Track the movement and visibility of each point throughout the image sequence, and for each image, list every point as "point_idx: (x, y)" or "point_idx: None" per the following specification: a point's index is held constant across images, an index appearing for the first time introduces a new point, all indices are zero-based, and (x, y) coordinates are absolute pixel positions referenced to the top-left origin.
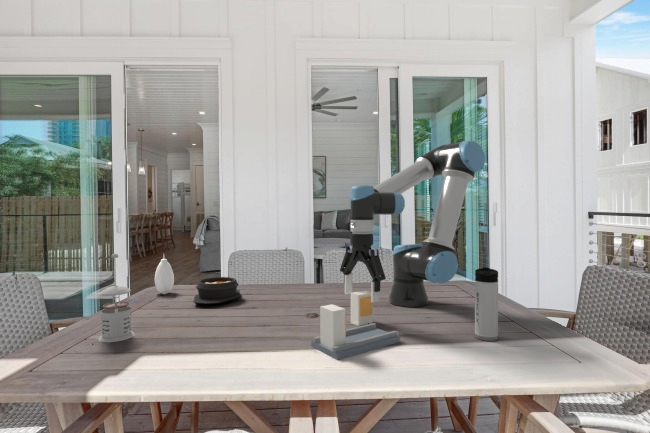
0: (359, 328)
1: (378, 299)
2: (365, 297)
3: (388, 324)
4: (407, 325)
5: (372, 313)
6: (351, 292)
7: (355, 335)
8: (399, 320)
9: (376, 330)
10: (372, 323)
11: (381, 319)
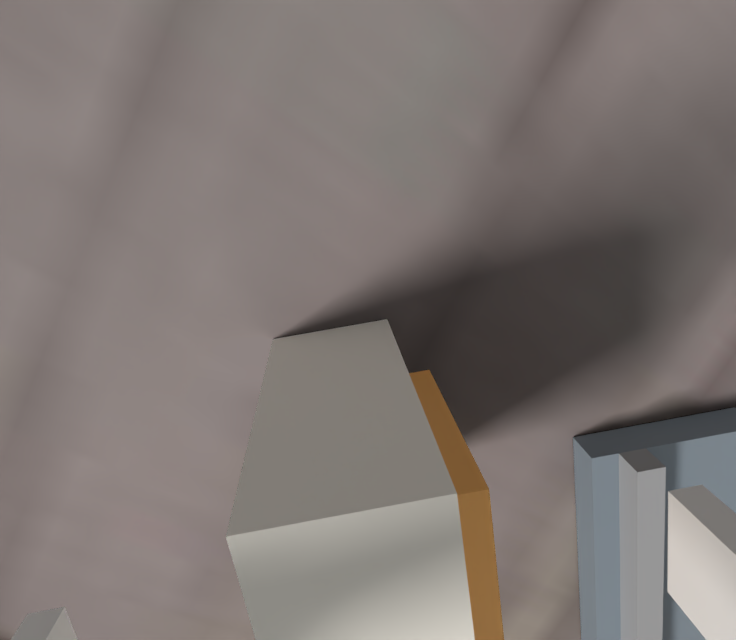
0: (660, 610)
1: (723, 514)
2: (495, 601)
3: (510, 216)
4: (636, 60)
5: (399, 350)
6: (61, 633)
7: (686, 637)
8: (461, 21)
9: (697, 475)
10: (639, 487)
11: (339, 184)
